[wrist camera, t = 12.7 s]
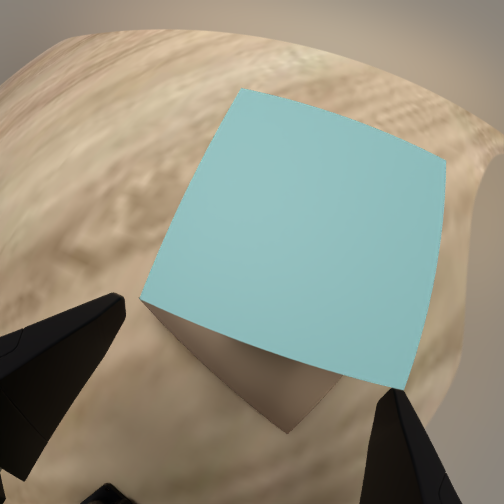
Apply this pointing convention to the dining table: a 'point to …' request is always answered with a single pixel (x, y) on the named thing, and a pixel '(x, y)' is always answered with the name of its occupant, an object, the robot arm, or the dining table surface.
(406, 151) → the teal block
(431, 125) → the dining table surface
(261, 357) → the walnut base
